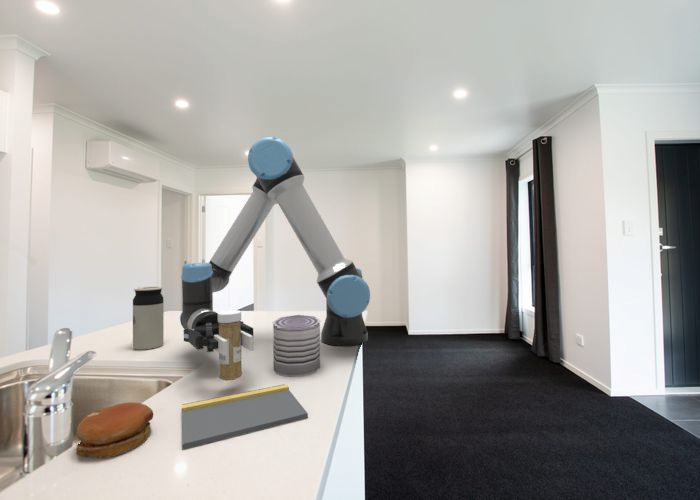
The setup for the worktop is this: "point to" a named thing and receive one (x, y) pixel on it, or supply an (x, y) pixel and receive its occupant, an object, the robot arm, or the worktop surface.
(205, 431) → the mat
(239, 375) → the sprinkles bottle
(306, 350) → the can
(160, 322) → the travel mug
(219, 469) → the worktop surface
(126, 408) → the burger
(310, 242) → the robot arm
